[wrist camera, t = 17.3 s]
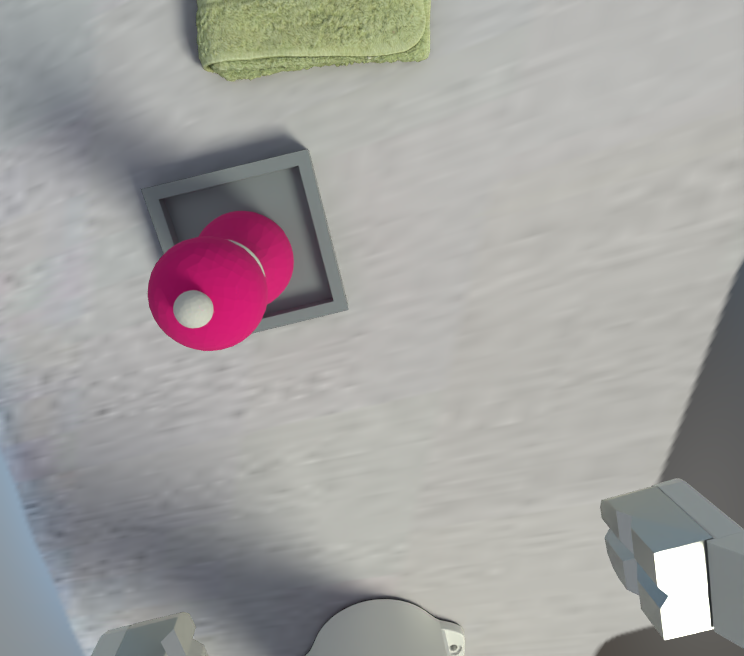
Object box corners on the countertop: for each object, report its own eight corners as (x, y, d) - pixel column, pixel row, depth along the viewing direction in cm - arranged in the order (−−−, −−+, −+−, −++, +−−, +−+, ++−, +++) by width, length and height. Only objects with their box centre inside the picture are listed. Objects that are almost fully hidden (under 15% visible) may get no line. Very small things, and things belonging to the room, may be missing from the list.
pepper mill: (196, 275, 42) (85, 356, 23) (225, 192, 41) (131, 205, 22) (279, 308, 44) (238, 409, 24) (310, 229, 42) (293, 271, 23)
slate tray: (347, 303, 45) (348, 309, 43) (202, 339, 45) (196, 347, 43) (308, 150, 41) (307, 149, 39) (150, 188, 41) (140, 189, 39)
